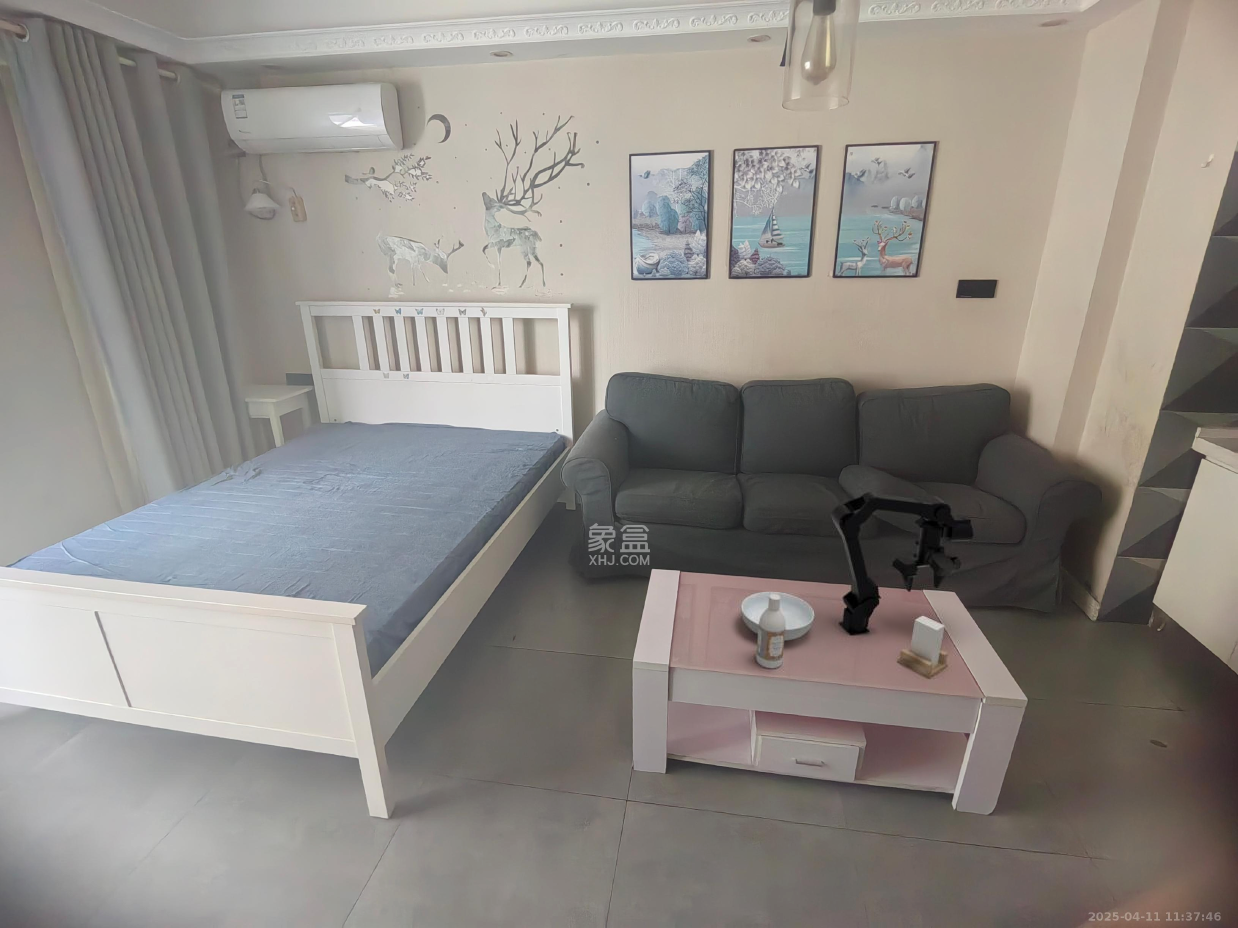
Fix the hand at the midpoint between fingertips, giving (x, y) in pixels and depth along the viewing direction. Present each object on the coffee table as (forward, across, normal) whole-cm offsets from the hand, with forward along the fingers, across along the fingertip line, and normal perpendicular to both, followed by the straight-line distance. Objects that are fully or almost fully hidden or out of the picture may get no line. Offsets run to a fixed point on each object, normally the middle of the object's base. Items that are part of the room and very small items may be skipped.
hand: (922, 589), depth 179 cm
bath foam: (+13, -50, -5) cm, 52 cm away
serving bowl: (+13, -41, +9) cm, 44 cm away
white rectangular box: (+12, -10, -16) cm, 22 cm away
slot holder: (+13, -10, -16) cm, 23 cm away
